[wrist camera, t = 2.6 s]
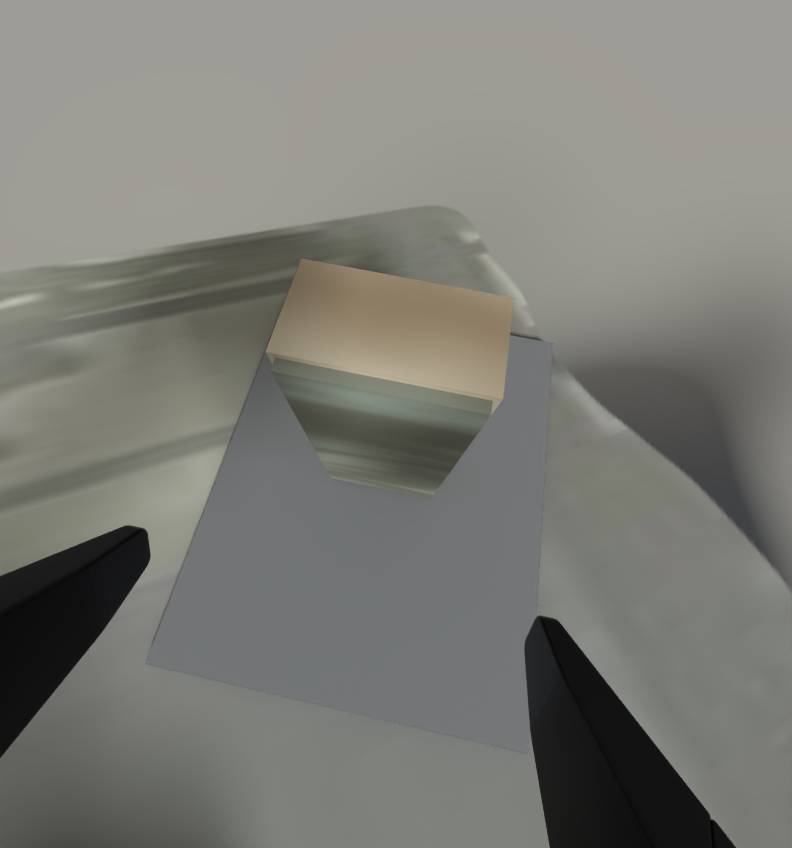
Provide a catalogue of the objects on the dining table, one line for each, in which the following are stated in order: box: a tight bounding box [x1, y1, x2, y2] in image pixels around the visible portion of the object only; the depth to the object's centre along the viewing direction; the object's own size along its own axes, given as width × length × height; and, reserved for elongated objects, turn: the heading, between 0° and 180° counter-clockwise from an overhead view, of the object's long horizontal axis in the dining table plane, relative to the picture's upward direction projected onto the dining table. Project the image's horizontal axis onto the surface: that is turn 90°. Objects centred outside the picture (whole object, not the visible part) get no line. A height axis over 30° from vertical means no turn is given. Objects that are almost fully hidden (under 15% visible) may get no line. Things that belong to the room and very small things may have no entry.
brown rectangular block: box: [265, 258, 514, 499], centre depth 16 cm, size 4×6×12 cm, turn 79°
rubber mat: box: [145, 293, 553, 754], centre depth 21 cm, size 22×18×1 cm
